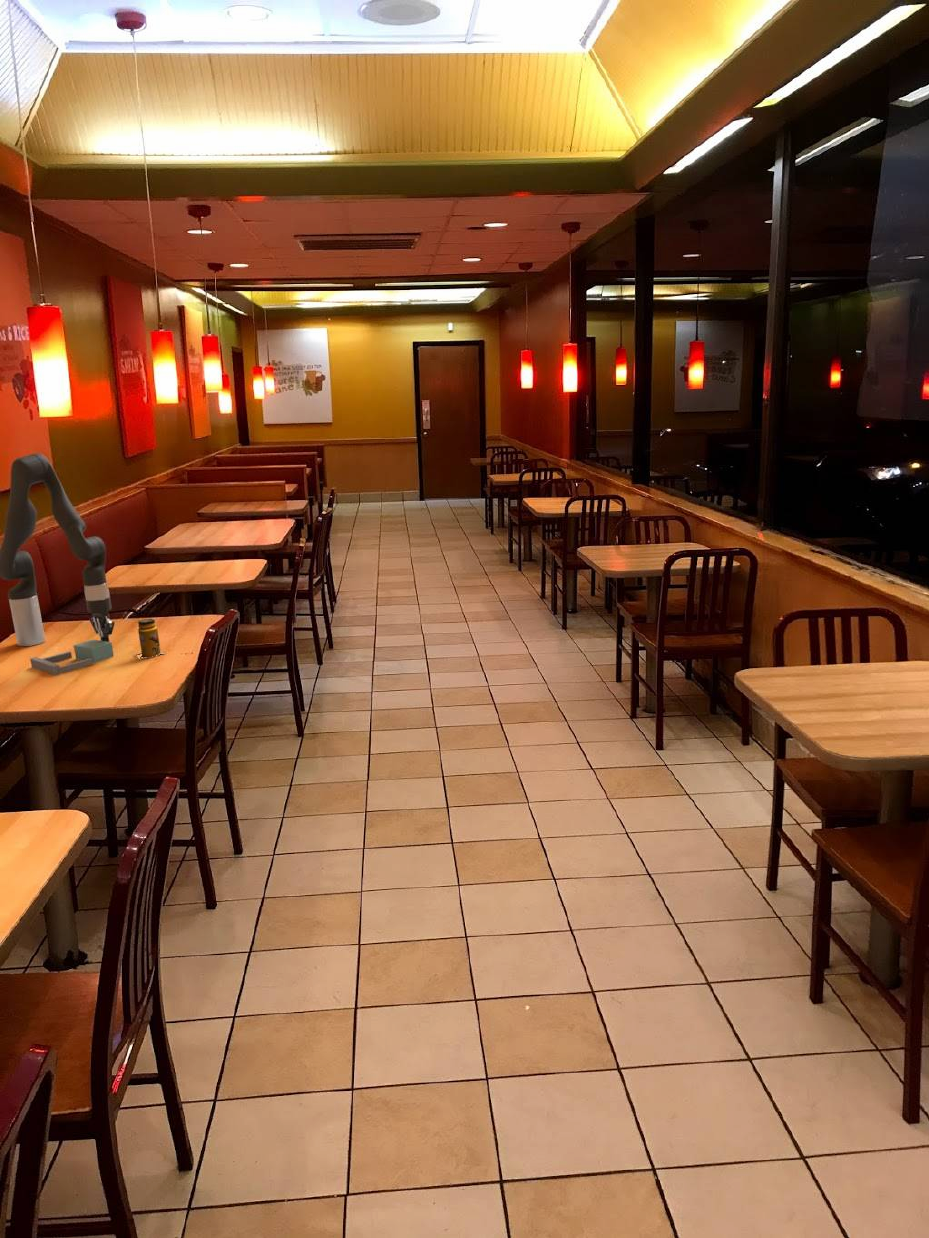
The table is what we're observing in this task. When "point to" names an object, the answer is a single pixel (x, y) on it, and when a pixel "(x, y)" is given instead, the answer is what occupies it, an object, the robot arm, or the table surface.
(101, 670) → the table surface
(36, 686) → the table surface
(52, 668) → the grey u-shaped bracket
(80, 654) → the carton
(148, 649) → the condiment
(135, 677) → the table surface
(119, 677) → the table surface
